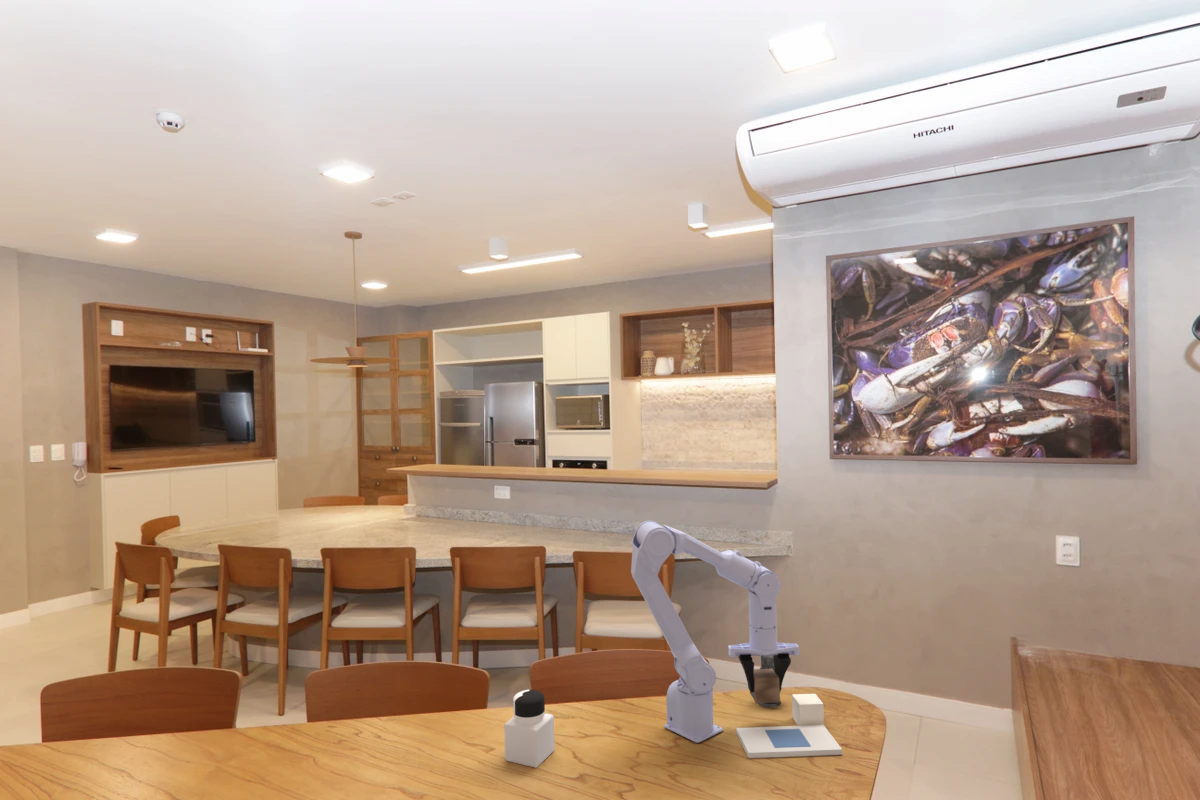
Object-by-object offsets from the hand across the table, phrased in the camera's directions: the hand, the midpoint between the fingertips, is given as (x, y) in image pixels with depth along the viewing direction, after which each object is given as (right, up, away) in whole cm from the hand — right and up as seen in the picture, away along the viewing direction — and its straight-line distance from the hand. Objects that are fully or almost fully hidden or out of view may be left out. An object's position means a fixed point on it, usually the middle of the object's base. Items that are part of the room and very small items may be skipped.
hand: (764, 689), depth 142 cm
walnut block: (0, -2, 0) cm, 2 cm away
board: (+2, -7, -8) cm, 11 cm away
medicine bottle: (-48, -8, -11) cm, 50 cm away
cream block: (+9, -7, 0) cm, 12 cm away
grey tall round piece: (+3, -7, +10) cm, 13 cm away
